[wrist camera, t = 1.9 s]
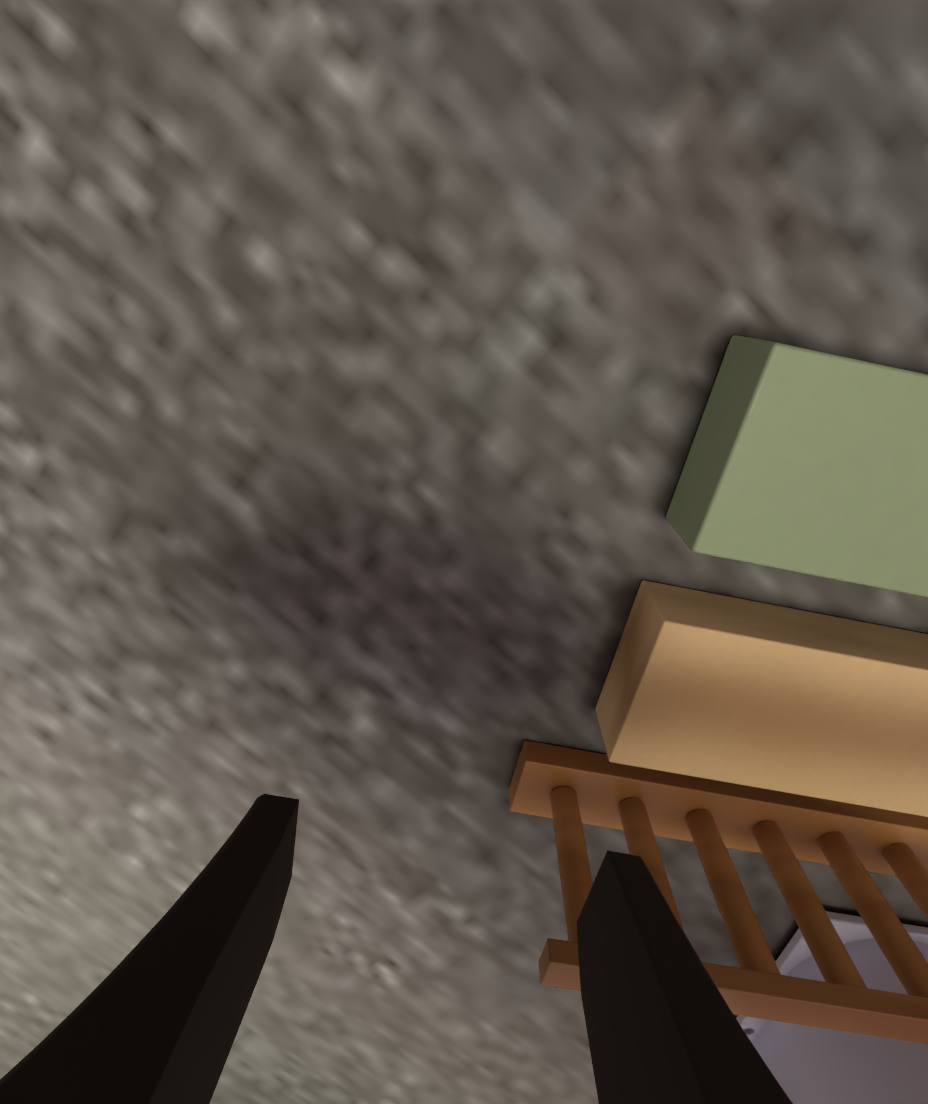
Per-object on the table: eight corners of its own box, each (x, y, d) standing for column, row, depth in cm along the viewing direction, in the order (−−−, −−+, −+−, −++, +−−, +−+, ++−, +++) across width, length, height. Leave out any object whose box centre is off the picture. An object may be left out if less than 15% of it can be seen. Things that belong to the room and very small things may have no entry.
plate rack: (1022, 876, 22) (1234, 1107, 16) (508, 789, 21) (518, 999, 15) (1060, 832, 21) (1304, 1061, 15) (523, 739, 20) (541, 942, 14)
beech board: (985, 778, 20) (1047, 838, 18) (594, 709, 19) (608, 762, 17) (1076, 661, 18) (1158, 713, 16) (641, 579, 17) (664, 621, 15)
